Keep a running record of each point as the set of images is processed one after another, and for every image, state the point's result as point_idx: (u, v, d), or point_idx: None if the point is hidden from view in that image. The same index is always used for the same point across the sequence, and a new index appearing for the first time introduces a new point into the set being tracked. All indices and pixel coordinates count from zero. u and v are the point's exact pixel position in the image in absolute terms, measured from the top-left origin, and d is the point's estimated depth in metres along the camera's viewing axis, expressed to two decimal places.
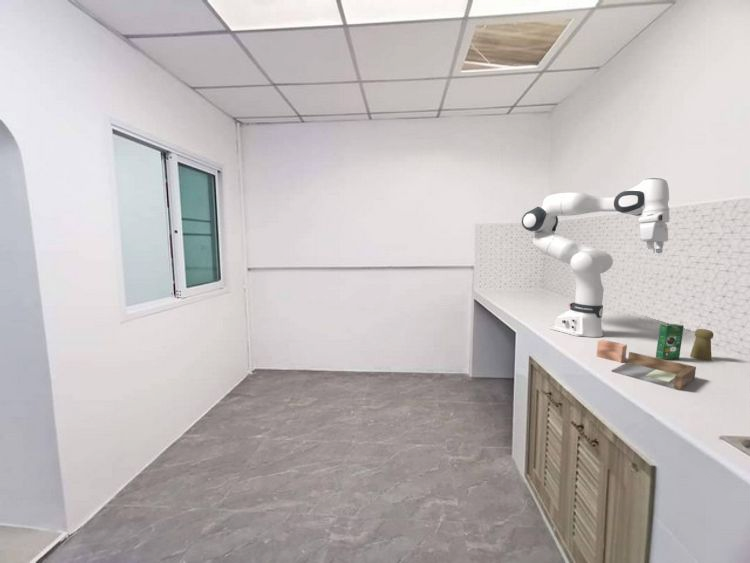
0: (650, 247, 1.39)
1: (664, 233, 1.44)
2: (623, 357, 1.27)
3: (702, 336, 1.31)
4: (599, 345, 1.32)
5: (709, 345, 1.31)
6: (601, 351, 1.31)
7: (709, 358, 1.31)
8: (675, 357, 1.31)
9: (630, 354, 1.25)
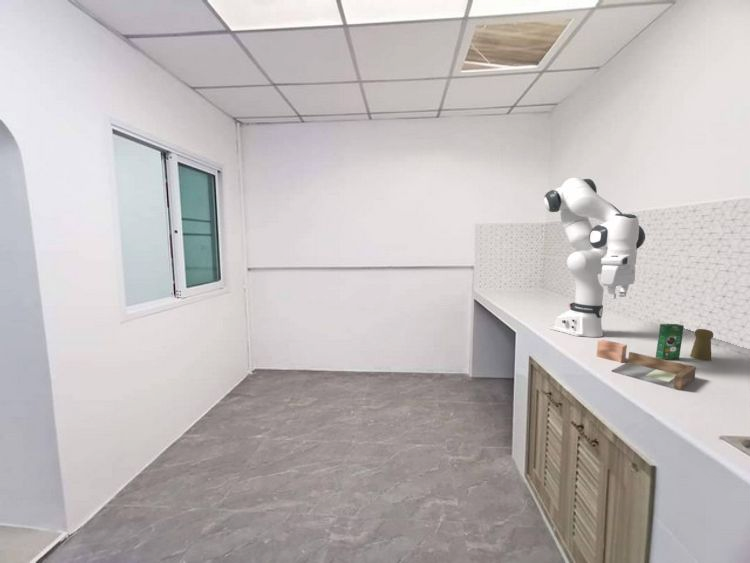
0: (611, 292, 1.24)
1: (630, 275, 1.28)
2: (623, 357, 1.27)
3: (702, 336, 1.31)
4: (599, 345, 1.32)
5: (709, 345, 1.31)
6: (601, 351, 1.31)
7: (709, 358, 1.31)
8: (675, 357, 1.31)
9: (630, 354, 1.25)
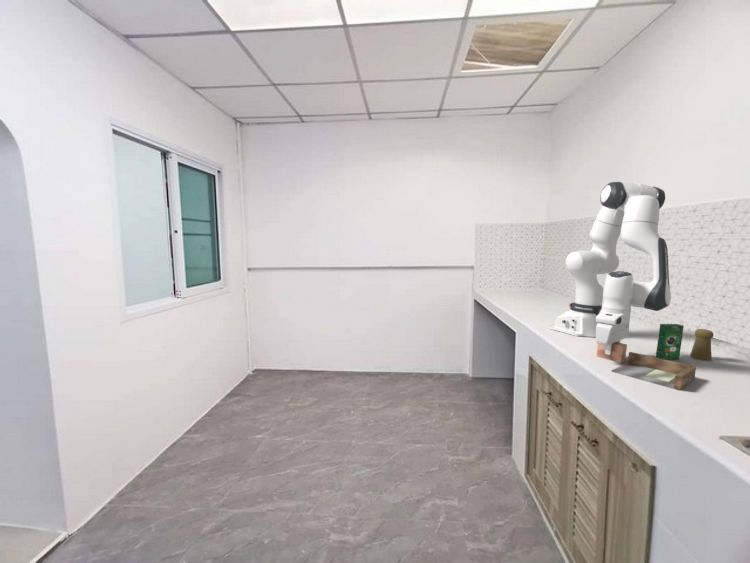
0: (607, 348, 1.28)
1: (624, 331, 1.31)
2: (623, 357, 1.27)
3: (702, 336, 1.31)
4: (599, 345, 1.32)
5: (709, 345, 1.31)
6: (601, 351, 1.31)
7: (709, 358, 1.31)
8: (675, 357, 1.31)
9: (630, 354, 1.25)
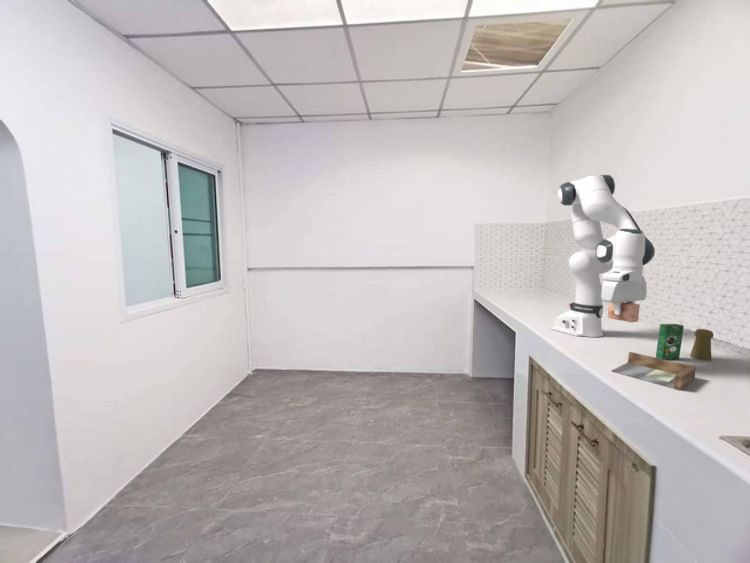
0: (616, 308, 1.24)
1: (638, 292, 1.25)
2: (634, 317, 1.22)
3: (702, 336, 1.31)
4: (610, 305, 1.28)
5: (709, 345, 1.31)
6: (612, 312, 1.27)
7: (709, 358, 1.31)
8: (675, 357, 1.31)
9: (630, 354, 1.25)
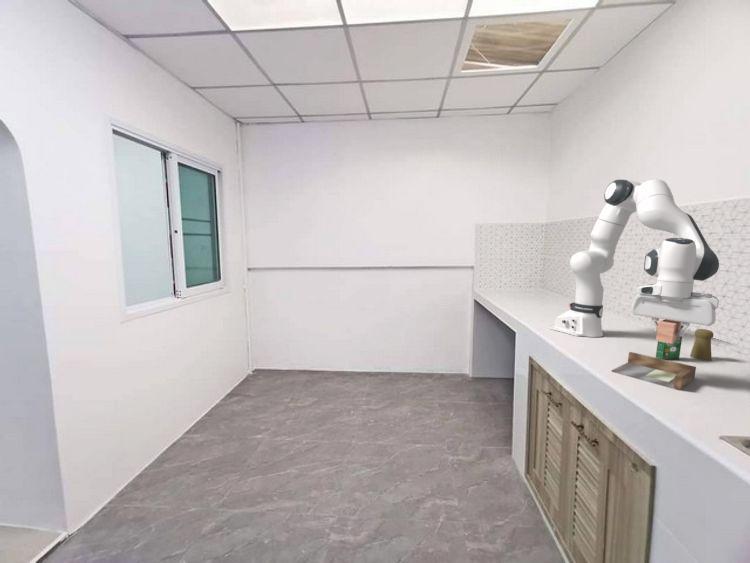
0: None
1: (689, 312, 1.06)
2: (664, 337, 1.09)
3: (702, 336, 1.31)
4: None
5: (709, 345, 1.31)
6: None
7: (709, 358, 1.31)
8: (675, 357, 1.31)
9: (630, 354, 1.25)
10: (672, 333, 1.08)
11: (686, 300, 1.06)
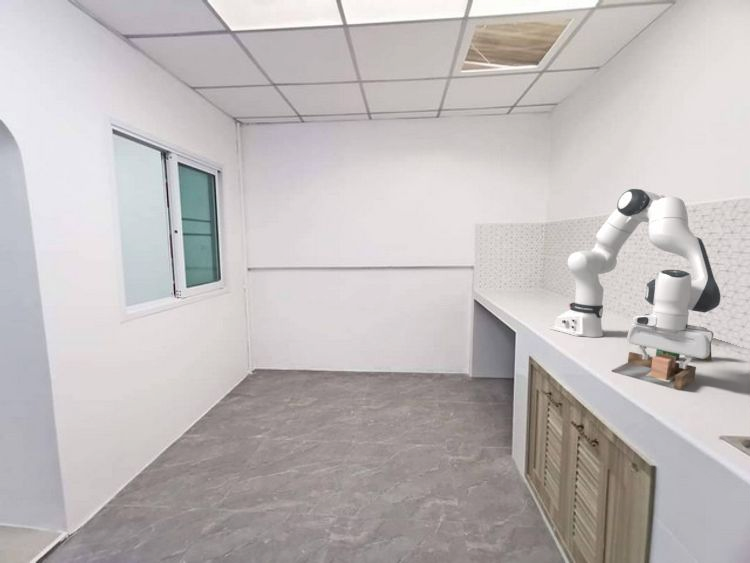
0: None
1: (684, 344, 1.07)
2: (658, 372, 1.11)
3: None
4: None
5: None
6: None
7: (709, 358, 1.31)
8: None
9: (630, 354, 1.25)
10: (666, 369, 1.09)
11: (681, 332, 1.07)
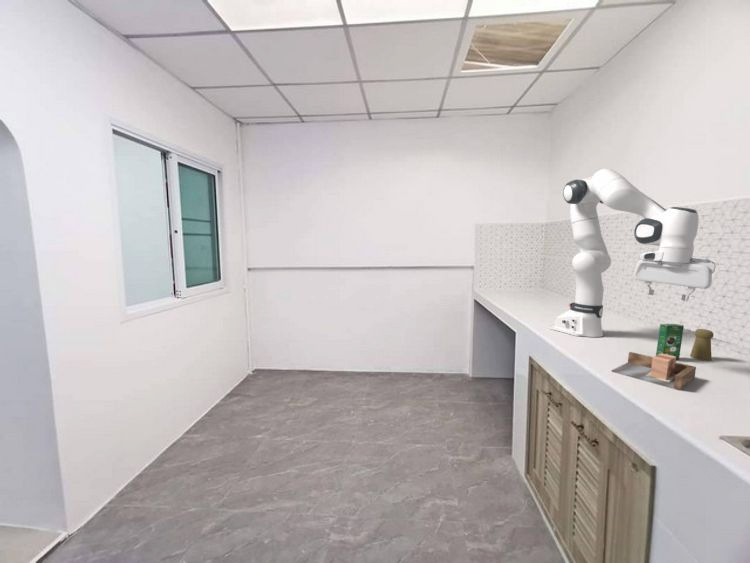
0: None
1: (688, 276, 1.14)
2: (658, 372, 1.11)
3: (702, 336, 1.31)
4: None
5: (709, 345, 1.31)
6: None
7: (709, 358, 1.31)
8: None
9: (630, 354, 1.25)
10: (666, 369, 1.09)
11: (685, 265, 1.14)
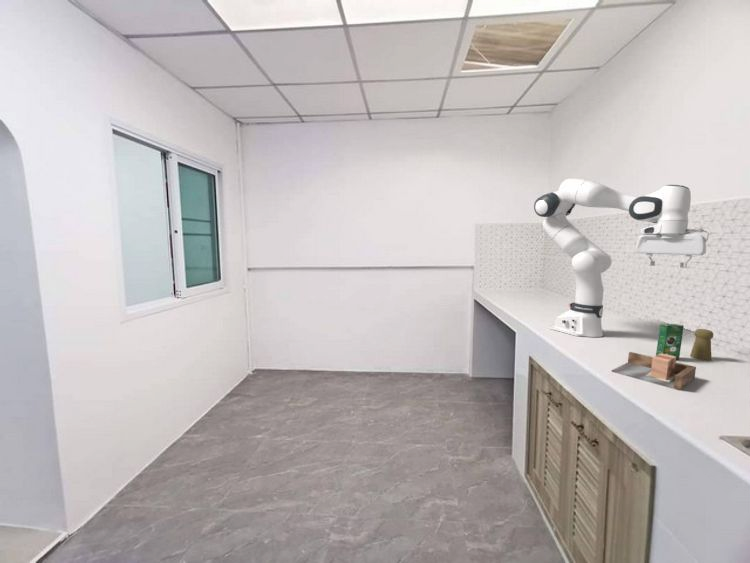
0: None
1: (684, 245, 1.27)
2: (658, 372, 1.11)
3: (702, 336, 1.31)
4: None
5: (709, 345, 1.31)
6: None
7: (709, 358, 1.31)
8: None
9: (630, 354, 1.25)
10: (666, 369, 1.09)
11: (682, 236, 1.27)
